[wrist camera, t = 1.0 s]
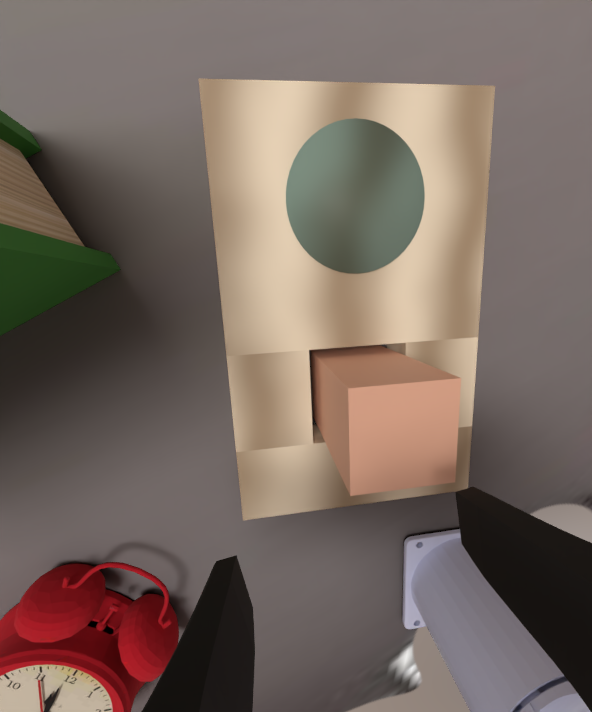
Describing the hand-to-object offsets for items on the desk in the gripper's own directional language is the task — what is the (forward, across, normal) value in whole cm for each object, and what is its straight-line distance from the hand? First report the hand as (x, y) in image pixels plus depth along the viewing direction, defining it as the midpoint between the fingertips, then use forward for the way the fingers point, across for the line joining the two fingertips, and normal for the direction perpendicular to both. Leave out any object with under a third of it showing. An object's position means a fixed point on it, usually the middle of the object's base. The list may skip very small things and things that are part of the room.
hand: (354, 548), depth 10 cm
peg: (+10, -3, -2) cm, 11 cm away
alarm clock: (+11, +17, +11) cm, 23 cm away
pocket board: (+10, -4, -6) cm, 12 cm away
